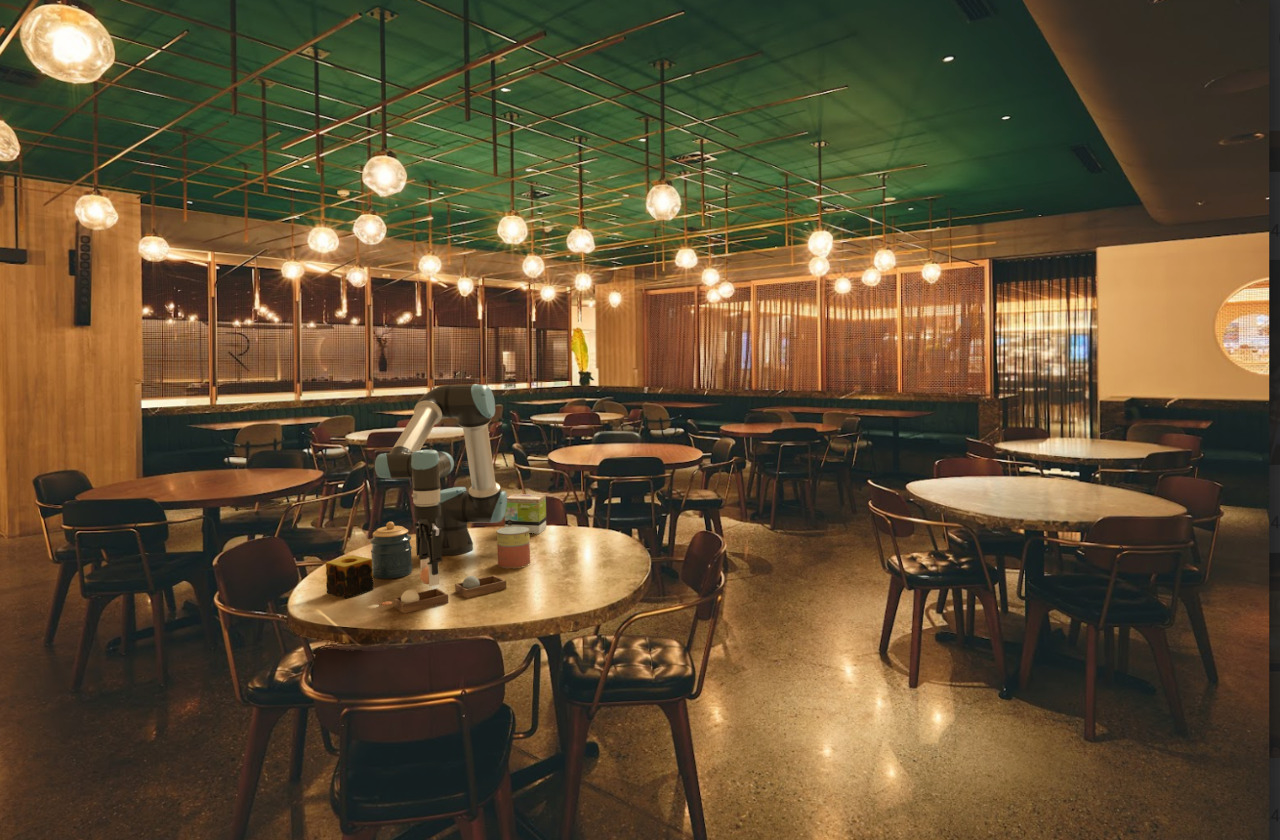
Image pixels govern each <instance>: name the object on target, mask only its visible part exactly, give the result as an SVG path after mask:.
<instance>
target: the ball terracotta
mask: <svg viewBox="0 0 1280 840" xmlns="http://www.w3.org/2000/svg"><path fill="white" fill-rule="evenodd" d="M419 577H420V581H421V580H422V582H421V583H424V584H426V585H429V570H428V567H426V568H424V569H423V570H422V572H421V571H420V576H419Z"/></svg>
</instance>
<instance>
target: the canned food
mask: <svg viewBox="0 0 1280 840" xmlns="http://www.w3.org/2000/svg"><path fill="white" fill-rule="evenodd" d="M529 530H530V529H529V528H528V527H523V526H511V527H505V526H504V527H501V528H498V529H497V530H496V542H497V543H496V544H497V547H496V549H497V566H498V567H500V568H503V569H508V568H513V569H519V568H518V567H521V568H523V567H522V566H525V567H527V566H526V565H528V564H529V565H531V546H530V545H531V544H530V543H531V540H530V538H531V537H530V534H529ZM529 565H528V566H529Z"/></svg>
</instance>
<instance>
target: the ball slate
mask: <svg viewBox="0 0 1280 840" xmlns="http://www.w3.org/2000/svg"><path fill="white" fill-rule="evenodd" d="M478 579H479V578H477V576H474V575H469V576H466V577H465V578H464V579H463V580H462V581H463V587H464V588H466V589H471V588H475V587H479V585H480V583H479V580H478Z"/></svg>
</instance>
